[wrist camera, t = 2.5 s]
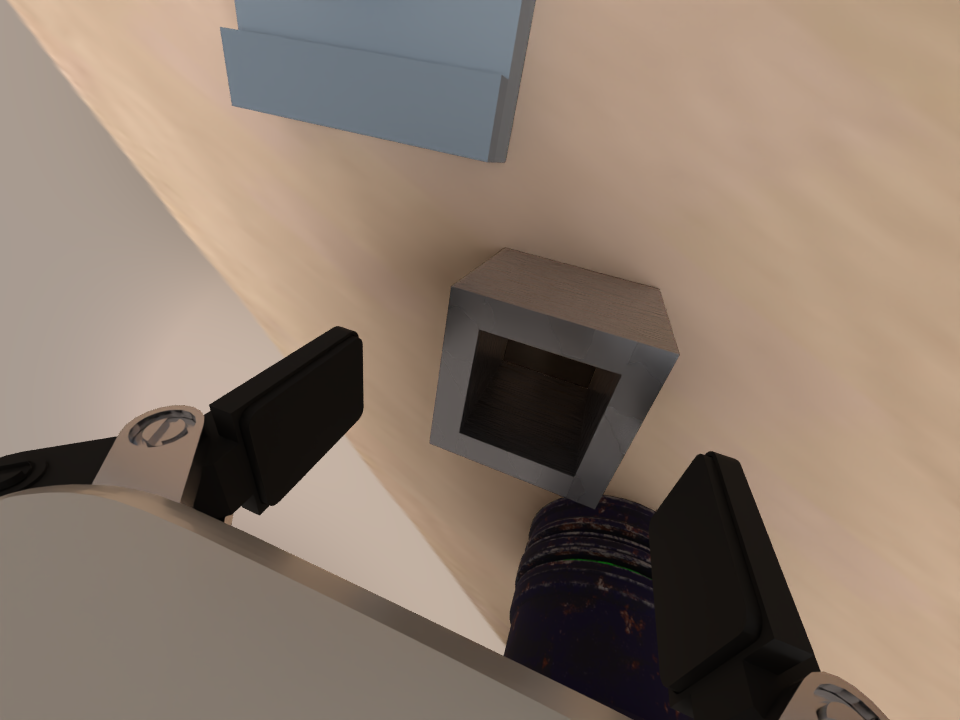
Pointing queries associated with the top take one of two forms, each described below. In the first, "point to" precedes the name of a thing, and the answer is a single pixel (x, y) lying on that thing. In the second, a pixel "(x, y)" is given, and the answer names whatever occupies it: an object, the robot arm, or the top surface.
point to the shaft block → (385, 68)
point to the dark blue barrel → (591, 606)
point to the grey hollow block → (538, 397)
